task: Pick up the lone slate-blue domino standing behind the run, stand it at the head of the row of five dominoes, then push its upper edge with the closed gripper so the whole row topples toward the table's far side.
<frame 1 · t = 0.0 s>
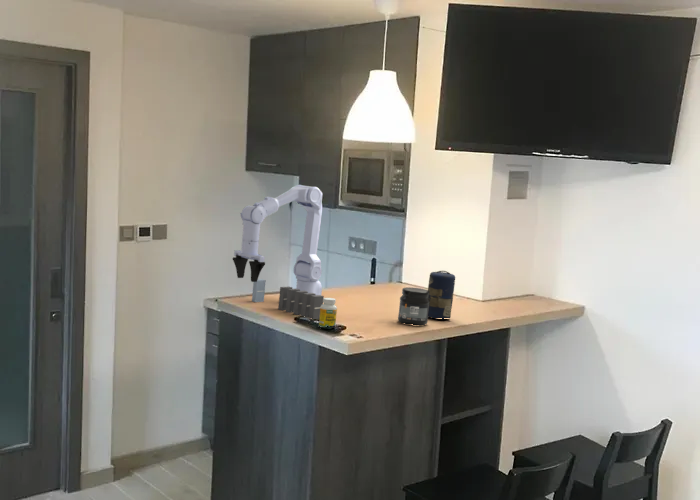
hand: (247, 279, 263), 10 cm above the worktop, fingers open, 7 cm apart
domino 5: (315, 318, 258), on the worktop
domino 3: (299, 314, 264), on the worktop
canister: (437, 319, 281), on the worktop
domino 1: (284, 309, 269), on the worktop
supplement container: (412, 323, 267), on the worktop
domino 2: (291, 311, 266), on the worktop
supplement bottle: (326, 328, 246), on the worktop
domino 4: (307, 316, 261), on the worktop
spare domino: (257, 301, 279), on the worktop
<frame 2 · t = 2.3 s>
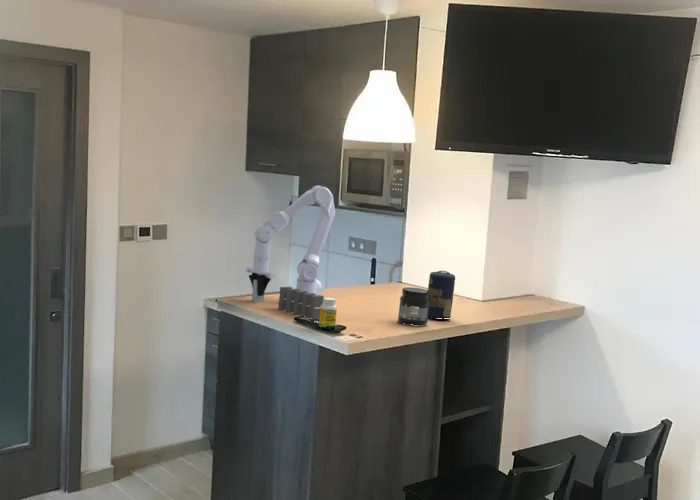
hand: (258, 294, 279), 2 cm above the worktop, fingers closed on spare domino, 2 cm apart
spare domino: (257, 301, 279), on the worktop, touching gripper
everything else where it was.
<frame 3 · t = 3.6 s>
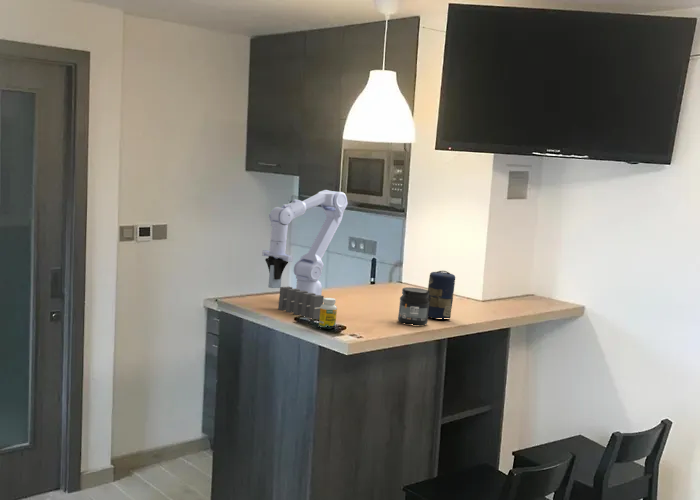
hand: (275, 278, 273), 10 cm above the worktop, fingers closed on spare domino
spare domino: (274, 287, 273), point 7 cm above the worktop, touching gripper
everything else where it was.
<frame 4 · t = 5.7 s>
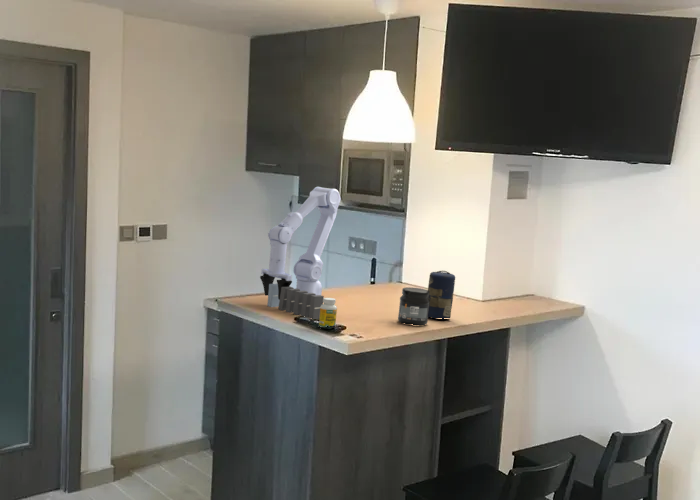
hand: (274, 297, 273), 3 cm above the worktop, fingers open, 7 cm apart
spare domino: (273, 306, 273), on the worktop
everything else where it was.
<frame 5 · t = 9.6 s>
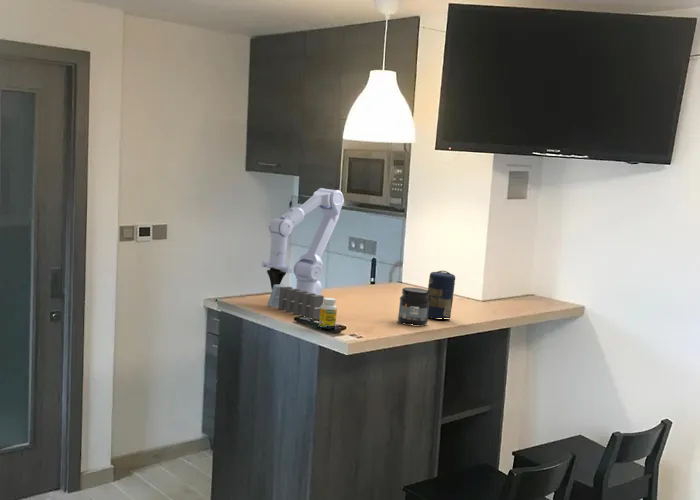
hand: (274, 289, 273), 6 cm above the worktop, fingers closed
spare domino: (273, 305, 273), on the worktop, tilted 18°
everything else where it was.
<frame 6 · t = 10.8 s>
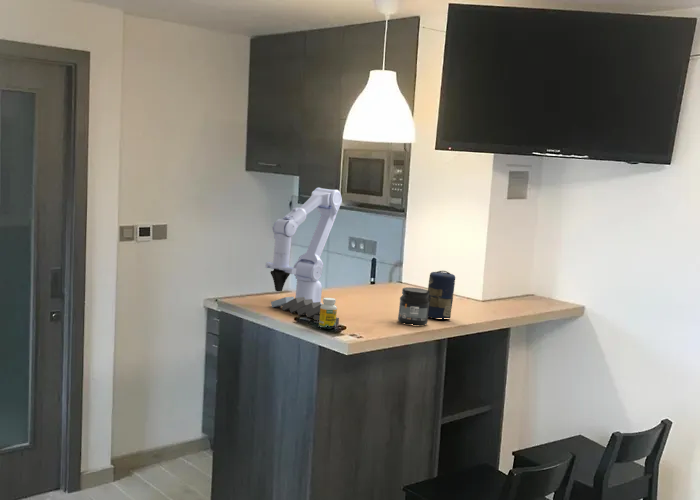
hand: (278, 290, 271), 6 cm above the worktop, fingers closed
domino 5: (317, 316, 257), point 1 cm above the worktop, tilted 89°, touching domino 4
domino 3: (301, 312, 263), point 1 cm above the worktop, tilted 61°, touching domino 2, domino 4
domino 1: (286, 307, 268), point 1 cm above the worktop, tilted 60°, touching domino 2
domino 2: (294, 310, 265), point 1 cm above the worktop, tilted 59°, touching domino 1, domino 3
domino 4: (310, 314, 260), point 1 cm above the worktop, tilted 59°, touching domino 3, domino 5
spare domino: (275, 304, 272), point 1 cm above the worktop, tilted 67°
everything else where it was.
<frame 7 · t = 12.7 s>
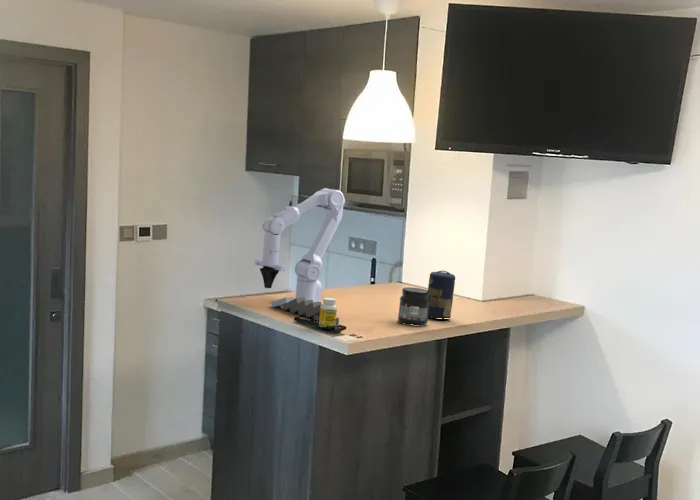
hand: (267, 287, 275), 6 cm above the worktop, fingers closed
domino 4: (310, 314, 260), point 1 cm above the worktop, tilted 58°, touching domino 3, domino 5
everything else where it was.
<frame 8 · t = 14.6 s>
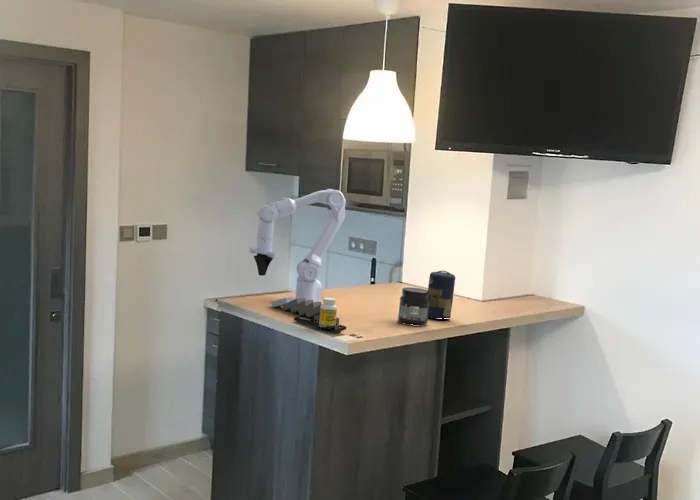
hand: (261, 275, 278), 10 cm above the worktop, fingers closed
domino 1: (287, 307, 268), point 1 cm above the worktop, tilted 61°, touching domino 2, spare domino
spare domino: (275, 304, 272), point 1 cm above the worktop, tilted 68°, touching domino 1
everything else where it was.
at the end: domino 5 tilted 89°; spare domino tilted 68°; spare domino inside the target area (0.8 cm from its centre), point 0.9 cm above the worktop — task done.
